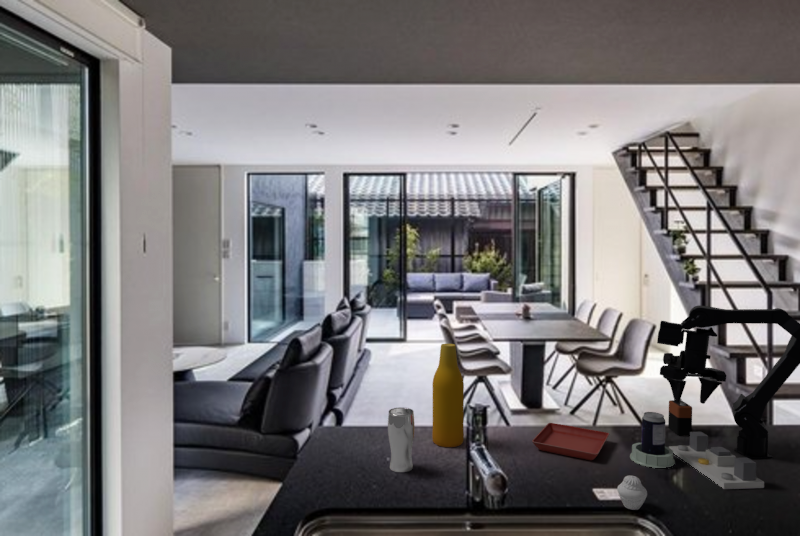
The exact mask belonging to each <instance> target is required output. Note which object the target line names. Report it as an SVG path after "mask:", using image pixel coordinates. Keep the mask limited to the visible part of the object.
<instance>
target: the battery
mask: <svg viewBox="0 0 800 536" xmlns="http://www.w3.org/2000/svg"><path fill="white" fill-rule="evenodd" d="M667 426H668V429H669V430H670V431H671V432H673V433H674V434H675V435H677V436H678V435H690V432H693V431H692V429H693V428H692V427H693V407H692V405H690V404H688V403H687V402H685V401H683V400H682V398H681V399H680V401H679V403H676V402H675V401H674V399H673V400H671V399H670V400H669V401H668V424H667Z"/></svg>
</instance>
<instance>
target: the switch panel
mask: <svg viewBox="0 0 800 536" xmlns="http://www.w3.org/2000/svg"><path fill="white" fill-rule="evenodd" d="M668 448H670V449H671V450H673V453H674V454H675V455H677V456H678V457H680V458H681V459H683V460H684V461H685V462H687V463H689V464H690V465H691V466H692V467H694V468H695V469H697V470H698V471H699V472H698V471H697V470H696V471H697V472H698V473H700V472H701V473H702V474H701V473H700V474H701V475H703V474H704V475H705V476H707V477H708V478H710V479H711V480H712V482H713V481H714V482H715V483H714V482H713V483H714V484H716V485H717V484H718V485H717V486H718V487H720V488H721V487H722V489H723V490H739V489H740V490H741V489H743V490H744V489H764V488H765V481H764V480H762V479H760V478H758V476H757V462H756V461H754V460H753V459H750V458H748V457H746V456H744V457H736V455H734V454H732V453H731V456H717V455H716V454H714V453H712V452H711V448H709V435H707V434H706V433H704V432H702V431H692V432H690V436H689V445H684V444H680V445H679V444H678V445H672V446H671V445H669V446H668ZM675 455H674V456H675ZM678 457H677V458H678ZM681 459H680V460H681ZM684 461H683V462H684ZM685 462H684V463H685ZM691 466H690V467H691ZM692 467H691V468H692ZM694 468H693V469H694ZM695 469H694V470H695ZM704 475H703V476H704ZM705 476H704V477H705ZM707 477H706V478H707ZM708 478H707V479H708ZM710 479H709V480H710ZM711 480H710V481H711Z"/></svg>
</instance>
